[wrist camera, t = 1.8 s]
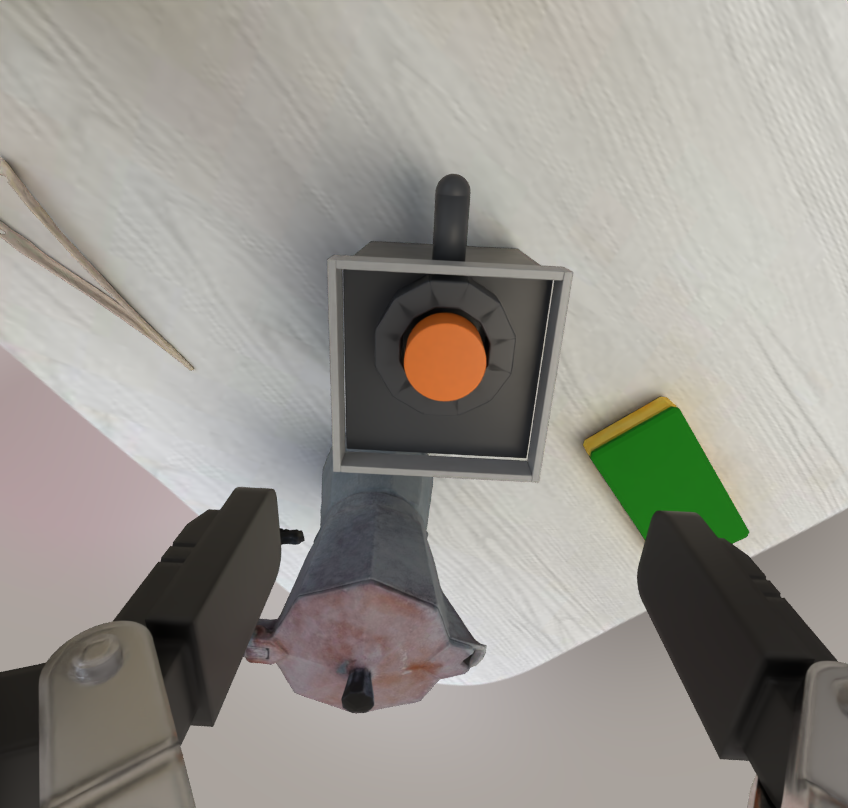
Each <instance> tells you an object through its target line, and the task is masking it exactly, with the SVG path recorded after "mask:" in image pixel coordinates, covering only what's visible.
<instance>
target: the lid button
mask: <svg viewBox="0 0 848 808" xmlns="http://www.w3.org/2000/svg"><path fill="white" fill-rule="evenodd" d="M486 361H487V360H486V353H485V349H484V346H483V343H482V340H481V337H480V334H479V332H478V330H477V329H476V328H475V326H474V325H473V324H472V323H471V322H470V321H469V320H467V319H466V318H464V317H462V316H460V315H457V314H454V313H447V312H446V313H436V314H432V315H430V316H427V317H426V318H424V319H422V320H421V321H420V322H418V323H417V324H416V325H415V327H414V328H413V329H412V331H411V333H410V334H409V337H408V340H407V344H406V350H405V355H404V369H405V373H406V376H407V378H408V381H409V382H410V384H411V385H412V386H413V388H414V389H415V390H416V391H418V392H419V393H420V394H422V395H423V396H425V397H427V398H430V399H432V400H437V401H453V400H457V399H460V398H462V397H464V396H466V395H468V394H469V393H471V392H472V391H473V390H474V389H475V388H476V387H477V386H478V385H479V384H480V382H481V380H482V378H483V376H484V374H485V370H486Z"/></svg>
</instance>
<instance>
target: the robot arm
mask: <svg viewBox="0 0 848 808" xmlns="http://www.w3.org/2000/svg"><path fill="white" fill-rule="evenodd" d="M280 561H281V539H280V528H279V517H278V505H277V496H276V492H275V490H274V489H268V488H249V487H237V488H235V489H234V491H233V492H232V494H231V495H230V496H229V498H228V499H227V501H226V502H225V504H224V505H223V507H222V508H221V509H220V510H210V509H209V510H207V511H206V512H204V513H203V514H201V515H200V516H198V517H197V518H195V519H194V520H192V521H191V522H190V523H188V524H187V525H186V526H185V528H184V529H183V530H182V532H181V533H180V534H179V535H178V537H177V538H176V539H175V541H174V542H173V546H170V547H169V549H168V550H167V551H166V552H165V554H164V555H163V556H162V558H161V562H158V563H157V564H156V565H155V567H154V568H153V569H152V571H151V572H150V574H149V575H148V576H147V577H146V579H145V580H144V581H143V582H142V584H141V585H140V586H139V588H138V589H137V590H136V592H135V593H134V594H133V596H132V597H131V598H130V600H129V601H128V602H127V603H126V605H125V606H124V607H123V609H122V610H121V611H120V613H119V614H118V615H117V616H116V618H115V619H114V620H113V622H109V623H104V624H101V625H98V626H95V627H92V628H90V629H88V630H85V631H83V632H82V633H80V634H78V635H76V636H74V637H73V638H72V639H70V640H68V641H67V642H66V643H65V644H63V645H62V646H61V647H60V648H59V649H58V650H57V651H56V652H55V653H54V654H53V655H52V656H51V657H50V659H49V660H48V661H47V662H46V663H42V664H38V665H33V666H28V667H23V668H19V669H14V670H9V671H4V672H0V808H196V806H195V802H194V798H193V794H192V790H191V786H190V782H189V778H188V774H187V770H186V766H185V762H184V758H183V754H182V751H181V747H180V746H181V744H182V742H183V740H184V738H185V736H186V733H187V731H188V729H189V727H190V725H194V726H211V727H213V726H214V723H215V721H216V719H217V716H218V714H219V712H220V709H221V707H222V704H223V702H224V700H225V698H226V695H227V693H228V690H229V688H230V686H231V683H232V681H233V679H234V676H235V674H236V672H237V669H238V667H239V665H240V662H241V660H242V657H243V655H244V653H245V651H246V648H247V646H248V644H249V641H250V639H251V636H252V634H253V632H254V629H255V627H256V625H257V622H258V620H259V618H260V615H261V613H262V610H263V608H264V606H265V603H266V601H267V599H268V597H269V594H270V592H271V589H272V587H273V585H274V582H275V580H276V578H277V575H278V571H279V567H280ZM637 583H638V590H639V594H640V597H641V599H642V602H643V604H644V606H645V608H646V610H647V612H648V614H649V616H650V618H651V620H652V622H653V624H654V626H655V628H656V630H657V632H658V634H659V636H660V638H661V640H662V642H663V644H664V646H665V648H666V650H667V652H668V654H669V656H670V658H671V660H672V663H673V665H674V667H675V669H676V671H677V673H678V675H679V677H680V679H681V680H682V683H683V685H684V687H685V689H686V691H687V693H688V695H689V697H690V699H691V701H692V703H693V705H694V707H695V709H696V711H697V713H698V715H699V717H700V719H701V721H702V723H703V725H704V727H705V730H706V732H707V734H708V735H709V737H710V740H711V741H712V744H713V746H714V748H715V750H716V752H717V754H718V756H719V758H720V759H729V760H746V761H750V763H751V765H752V767H753V769H754V771H755V772H756V776H755V778H754V781H753V783H752V786H751V789H750V795H749V800H748V805H747V808H848V664H846V663H842V662H838V661H837V660H836V658H835V657H834V656H833V655H832V654H831V652H830V651H829V650H828V649H827V648H826V647H825V645H824V644H823V643H822V642H821V641H820V640H819V638H818V637H817V636H816V635H815V634H814V632H813V631H812V630H811V629H810V628H809V627H808V625H807V624H806V623H805V622H804V621H803V620H802V618H801V617H800V616H799V615H798V614H797V612H796V611H795V610H794V609H793V608H792V606H791V605H790V604H789V603H788V602H787V601H786V599H785V598H781V597H780V592H779V591H778V590H777V589H776V588H775V586H774V585H773V584H772V583H771V582H770V581H768V580H766V576H765V575H764V573H763V572H762V571H761V570H760V569H759V567H758V566H757V565H756V564H755V563H754V562H753V561H752V559H751V558H750V557H749V556H748V555H747V554H745V553H744V552H742V551H741V550H740V549H738V548H737V547H735V546H734V545H733V544H731V543H730V542H728V541H727V540H726V539H724V538H718V537H717V536H716V535H715V533H714V532H713V531H712V530H711V528H710V527H709V526H708V525H707V523H706V522H705V521H704V520H703V518H702V517H701V516H700V515H699V514H697V513H695V512H679V511H661V510H658V511H656V512H655V513H654V514H653V516H652V518H651V522H650V525H649V529H648V533H647V536H646V540H645V544H644V548H643V551H642V555H641V559H640V562H639V566H638V572H637Z"/></svg>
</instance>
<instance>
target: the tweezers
mask: <svg viewBox="0 0 848 808" xmlns="http://www.w3.org/2000/svg"><path fill="white" fill-rule="evenodd" d="M0 175H3V176H5V177H7V179H8V184H9V185H10V186H11V187H12V188H13V189H14V191H15V192H16V193H17V194H18V196H19V197H20V199H21V200H22V201H23V202H24V203H25V204H26V206H27V207H28V208H29V209H30V210H31V211H32V213H33V214H34V215H35V216H36V217H37V218H38V219H39V220H40V221H41V222H42V223H43V224H44V225H45V226H46V227H47V229H48V230H49V231H50V232H51V233H52V234H53V235H54V236H55V237H56V238H57V240H58V241H59V242H60V243H61V244H62V245H63V246H64V247H65V248H66V250H67V251H68V252H69V253H70V254H71V255H72V256H73V257H74V258H75V259H76V260H77V261H78V262H79V263H80V264H81V265H82V266H83V267H84V268H85V269H86V270H87V272H88V273H89V274H90V275H91V276H92V277H93V278H94V279H95V280H96V281H97V282H98V283H99V284H100V285H101V286H102V287H103V288H104V289H105V290H106V291H107V292H109V293H110V294H111V295H112V296H113V297H114V298H115V299H116V301H118V302H119V303H120V304H121V305H122V306H121V305H120V304H119V303H117V302H116V301H115V300H113V299H112V298H110V297H109V296H107V295H106V294H105V293H103V292H101V291H100V290H99V289H97V288H96V287H94V286H92V285H91V284H89V283H88V282H86V281H85V280H83V279H81V278H80V277H78V276H77V275H75V274H74V273H72V272H71V271H69V270H68V269H66V268H65V267H63V266H62V265H61V264H59V263H57V262H56V261H55V260H53V259H52V258H50V257H49V256H47V255H46V254H45V253H43V252H42V251H41V250H39V249H38V248H37V247H36V246H34V245H33V244H32V243H31V242H30V241H28V240H27V239H26V238H24V237H23V236H21V235H20V234H18V233H16V232H15V231H13V230H12V229H10V228H9V227H8V226H6V225H5V224H4V223H2V222H1V221H0V229H1V230H2V231H4V232H5V234H1V233H0V237H1V238H2V239H3V240H5V241H6V242H7V243H9V244H10V245H11V246H12V247H14V248H15V249H16V250H18V251H19V252H20V253H22V254H23V255H25V256H26V257H28V258H30V259H31V260H33V261H34V262H36V263H38V264H39V265H41V266H42V267H44V268H45V269H47V270H48V271H50V272H52V273H53V274H55V275H56V276H58V277H60V278H61V279H63V280H64V281H66V282H67V283H69V284H70V285H72V286H73V287H75V288H76V289H78V290H79V291H81V292H83V293H84V294H86V295H87V296H89V297H90V298H92V299H93V300H95V301H96V302H97V303H99V304H100V305H102V306H103V307H105V308H106V309H108V310H109V311H111V312H112V313H113V314H115V315H116V316H118V317H120V318H121V319H122V320H124V321H125V322H126V323H128V324H129V325H130V326H132V327H133V328H135V329H136V330H138V331H139V332H141V333H142V334H144V335H145V336H146V337H148V338H149V339H150V340H152V341H153V342H154V343H156V344H157V345H158V346H160V347H161V348H162V349H164V350H165V351H166V352H168V353H169V354H170V355H172V356H173V357H174V358H175V359H177V360H178V361H179V362H181V363H182V364H183V365H184V366H185V367H187V368H188V369H189V370H191V371H192V370H194V368H193V367H192V366H191V365H190V364H189V363H188V362H187V361H186V359H185V358H184V357H182V356H181V355H180V354H179V353H178V352H177V351H176V350H175V349H174V348H173V347H172V346H171V345H170V344H169V343H168V342H167V341H166V340H165V339H164V338H163V337H162V336H161V335H160V334H159V333H157V332H156V331H155V330H154V329H153V328H152V327H151V326H150V325H149V324H148V323H147V322H146V321H145V320H144V319H143V318H142V317H141V316H140V315H139V314H138V313H137V312H136V311H135V310H134V309H133V308H132V307H131V306H130V305H129V304H128V303H127V302H126V301H125V300H124V299H123V298H122V297H121V296H120V295H119V294H118V293H117V292H116V291H115V290H114V289H113V287H112V286H111V285H110V284H109V283H108V282H107V281H106V280H105V279H104V278H103V277H102V275H101V274H100V273H99V272H98V271H97V270H96V269H95V268H94V267H93V266H92V265H91V264H90V263H89V262H88V260H87V259H86V258H85V257H84V256H83V255H82V254H81V253H80V252H79V251H78V249H77V248H76V247H75V246H74V245H73V244H72V243H71V242H70V241H69V240H68V239H67V238H66V236H65V235H64V234H63V233H62V232H61V231H60V230H59V228H58V227H57V226H56V225H55V223H54V222H53V221H52V219H51V218H50V217H49V215H48V214H47V213H46V211H45V210H44V209H43V208H42V207H41V205H40V204H39V203H38V202H37V201H36V200H35V199H34V198H33V196H32V195H31V194H30V192H29V191H28V190H27V188H26V187H25V186H24V184H23V183H22V182H21V180H20V179H19V178H18V177H17V175H16V174H15V173H14V171H13V170H12V168H11V167H10V166H9V165H8V163H7V162H6V161H5V160H4V159H3V158H1V157H0Z"/></svg>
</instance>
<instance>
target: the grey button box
mask: <svg viewBox="0 0 848 808" xmlns="http://www.w3.org/2000/svg"><path fill="white" fill-rule="evenodd" d="M432 251H433V244H416V243H397V242H378V241H371V242H370V243H369V244H367V245H366V246H365V247H364V248H362V249H361V250H360V251H359V252H357V253H356V254H355V255H354V256H365V257H385V258H404V259H423V260H432ZM465 262H481V263H500V264H519V265H538V266H541V265H539V264H538V263H537V262H535V261H534V260H533V259H531V258H530V257H528V256H527V255H526V254H524V253H523V252H522V251H520V250H519V249H513V248H493V247H474V246H466V256H465ZM343 278H344V337H345V395H346V448H347V449H360V450H380V451H399V452H418V453H437V454H456V455H475V456H494V457H513V458H526V457H527V451H528V444H529V437H530V430H531V424H532V417H533V410H534V404H535V397H536V390H537V383H538V377H539V370H540V363H541V357H542V350H543V343H544V336H545V330H546V323H547V316H548V310H549V303H550V296H551V289H552V283H553V280H541V279H522V278H502V277H483V276H464V275H445V274H426V273H406V272H387V271H368V270H349V269H343ZM446 312H447V313H454V314H457V315H460V316H462V317H464V318H466V319H467V320H469V321H470V322H471V323H472V324H473V325H474V326H475V328H476V329H477V330H478V332H479V334H480V337H481V340H482V343H483V346H484V349H485V353H486V360H487V361H486V370H485V374H484V376H483V378H482V380H481V382H480V384H479V385H478V386H477V387H476V388H475V389H474V390H473V391H472V392H471V393H469V394H468V395H466V396H464V397H462V398H460V399H457V400H453V401H437V400H432V399H430V398H427V397H425V396H423V395H422V394H420V393H419V392H418V391H416V390H415V389H414V388H413V386H412V385H411V384H410V382H409V381H408V378H407V376H406V373H405V369H404V355H405V350H406V344H407V340H408V337H409V334H410V333H411V331H412V329H413V328H414V327H415V325H416V324H417V323H418V322H420V321H421V320H422V319H424V318H426V317H427V316H430V315H432V314H436V313H446Z"/></svg>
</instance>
